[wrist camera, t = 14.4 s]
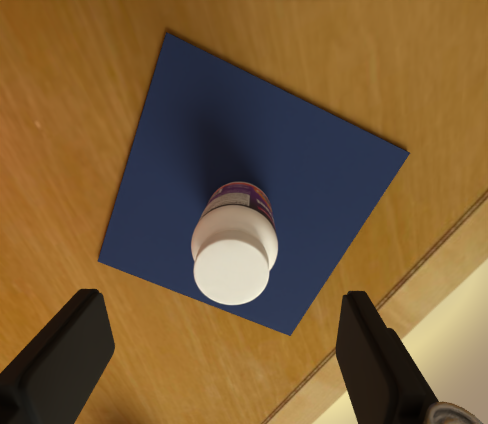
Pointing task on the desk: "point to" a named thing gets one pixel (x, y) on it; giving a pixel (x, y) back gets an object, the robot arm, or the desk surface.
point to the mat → (242, 180)
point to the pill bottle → (234, 244)
